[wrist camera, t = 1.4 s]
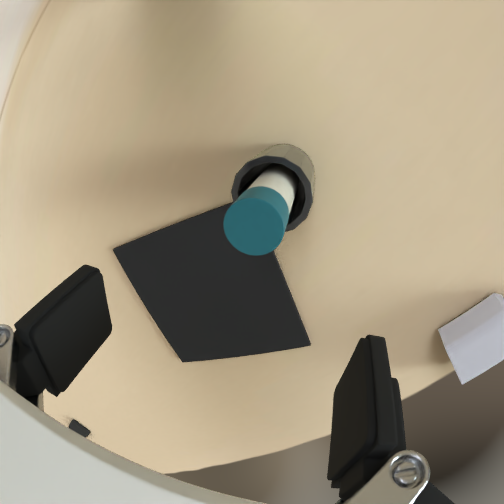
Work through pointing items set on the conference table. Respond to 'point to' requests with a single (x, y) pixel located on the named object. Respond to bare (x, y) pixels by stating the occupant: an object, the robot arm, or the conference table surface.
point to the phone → (79, 428)
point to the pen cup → (295, 162)
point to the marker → (262, 211)
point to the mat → (212, 291)
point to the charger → (476, 338)
